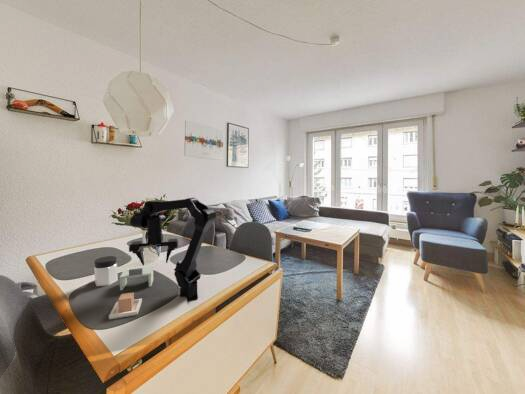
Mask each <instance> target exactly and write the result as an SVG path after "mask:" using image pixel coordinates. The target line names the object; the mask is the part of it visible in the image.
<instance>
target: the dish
mask: <svg viewBox="0 0 525 394" xmlns="http://www.w3.org/2000/svg"><path fill="white" fill-rule="evenodd" d="M142 302H143V298H134V307H133V309H132V311H128V312H122V313H119V304H118V301H116V302H115V304H114V305H113V307H112V309H111V311H110V313H109V315H108V320H114V319H115V320H116V319H120V318H126V317H132V316H138V314H139V312H140V308H141V306H142Z"/></svg>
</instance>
